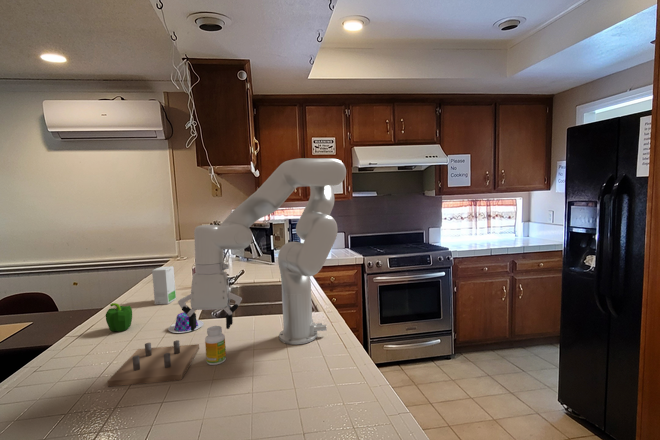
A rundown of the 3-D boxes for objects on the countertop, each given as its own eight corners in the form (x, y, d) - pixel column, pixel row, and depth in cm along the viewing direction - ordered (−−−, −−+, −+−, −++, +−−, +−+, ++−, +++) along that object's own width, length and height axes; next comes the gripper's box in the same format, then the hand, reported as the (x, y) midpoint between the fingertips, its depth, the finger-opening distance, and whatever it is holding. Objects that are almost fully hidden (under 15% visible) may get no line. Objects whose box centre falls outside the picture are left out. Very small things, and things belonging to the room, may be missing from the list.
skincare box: (168, 304, 153) (165, 269, 152) (153, 304, 153) (150, 270, 152) (176, 298, 161) (174, 265, 160) (162, 298, 161) (160, 266, 160)
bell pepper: (139, 325, 130) (137, 299, 129) (124, 334, 121) (121, 306, 121) (118, 324, 130) (116, 299, 130) (101, 334, 122) (99, 306, 121)
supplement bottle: (220, 366, 97) (218, 332, 96) (202, 364, 98) (200, 331, 97) (229, 357, 102) (227, 325, 101) (212, 355, 103) (210, 324, 102)
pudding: (187, 336, 118) (186, 321, 118) (160, 332, 122) (159, 318, 122) (210, 323, 130) (209, 309, 129) (185, 320, 134) (184, 307, 133)
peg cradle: (199, 348, 108) (198, 333, 108) (181, 379, 90) (180, 361, 90) (138, 353, 106) (137, 338, 105) (108, 386, 88) (106, 367, 88)
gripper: (242, 265, 102) (243, 321, 103) (181, 266, 100) (183, 324, 101) (239, 270, 95) (240, 331, 96) (173, 272, 93) (175, 334, 94)
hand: (211, 328), depth 99 cm, fingers open, 9 cm apart
